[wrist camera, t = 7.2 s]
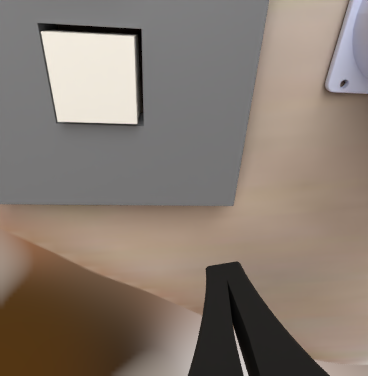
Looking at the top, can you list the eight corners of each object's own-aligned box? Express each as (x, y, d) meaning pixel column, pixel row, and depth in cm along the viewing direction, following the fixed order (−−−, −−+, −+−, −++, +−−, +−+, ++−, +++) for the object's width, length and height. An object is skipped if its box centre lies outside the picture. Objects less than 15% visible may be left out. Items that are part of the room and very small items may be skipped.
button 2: (138, 34, 15) (134, 36, 12) (140, 110, 17) (137, 124, 14) (59, 29, 14) (40, 31, 12) (71, 108, 16) (57, 121, 14)
